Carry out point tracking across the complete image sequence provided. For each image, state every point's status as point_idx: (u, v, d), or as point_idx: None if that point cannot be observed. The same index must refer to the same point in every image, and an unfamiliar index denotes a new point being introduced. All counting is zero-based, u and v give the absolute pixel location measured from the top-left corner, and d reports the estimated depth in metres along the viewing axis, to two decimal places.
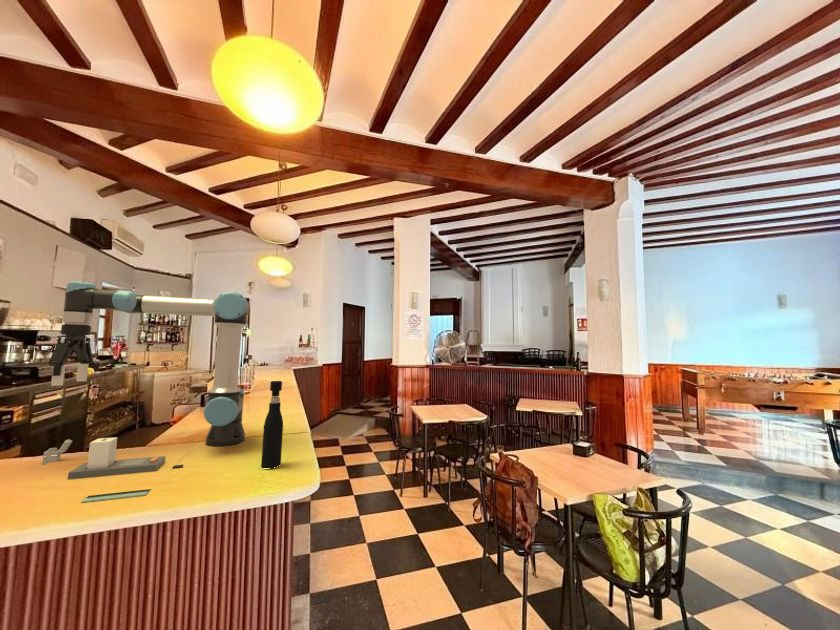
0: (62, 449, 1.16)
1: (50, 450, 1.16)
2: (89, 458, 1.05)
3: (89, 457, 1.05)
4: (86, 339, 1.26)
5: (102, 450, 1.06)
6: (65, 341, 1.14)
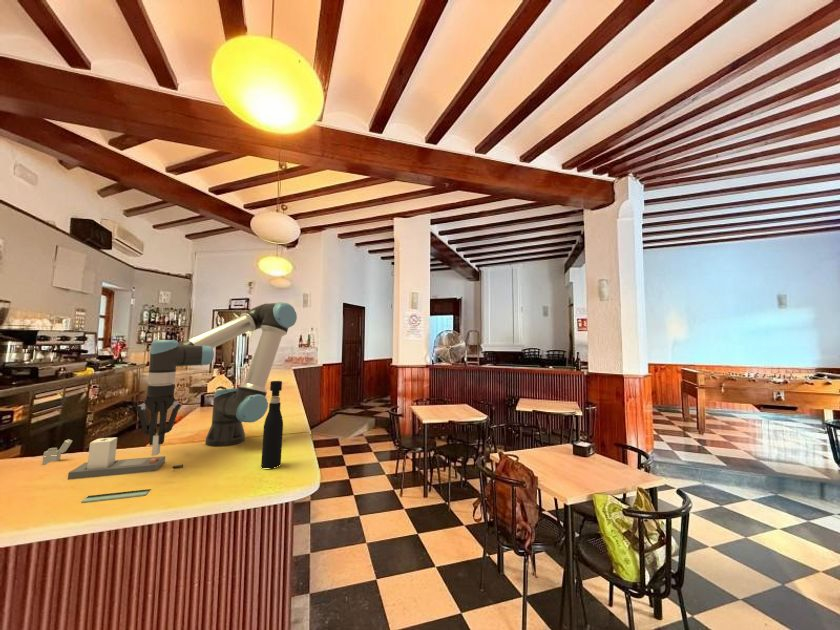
0: (62, 449, 1.16)
1: (50, 450, 1.16)
2: (89, 458, 1.05)
3: (89, 457, 1.05)
4: (177, 404, 1.16)
5: (102, 450, 1.06)
6: None
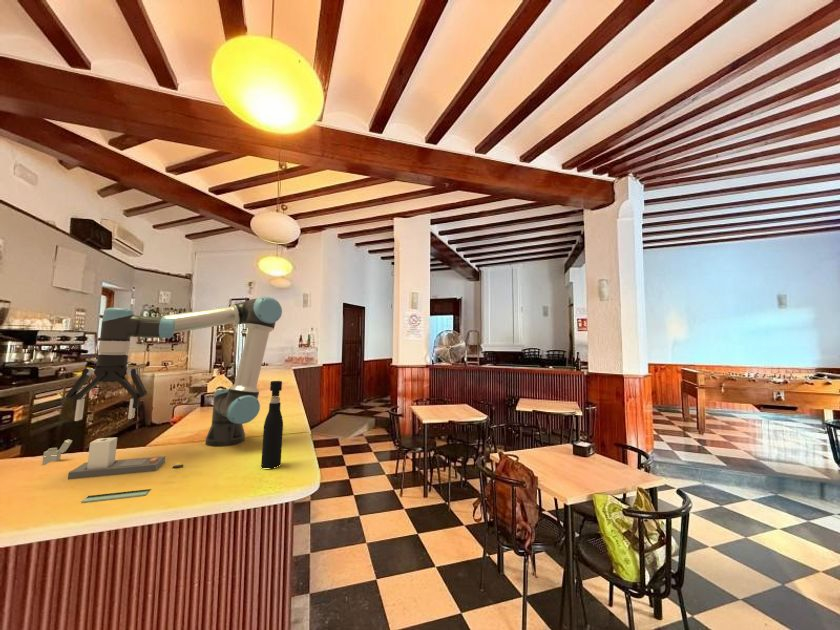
0: (62, 449, 1.16)
1: (50, 450, 1.16)
2: (89, 458, 1.05)
3: (89, 457, 1.05)
4: None
5: (102, 450, 1.06)
6: None
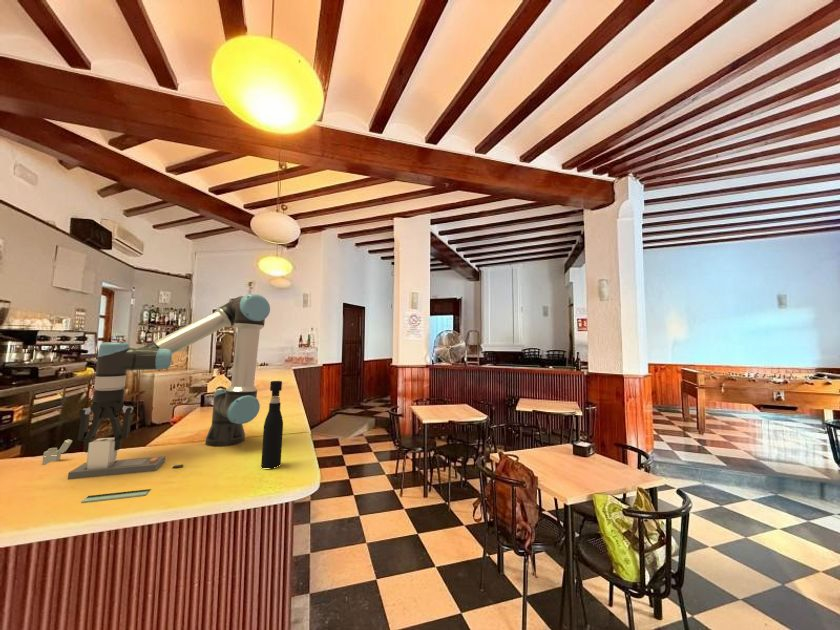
0: (62, 449, 1.16)
1: (50, 450, 1.16)
2: (89, 458, 1.05)
3: (89, 457, 1.05)
4: (127, 408, 1.11)
5: (102, 450, 1.06)
6: None
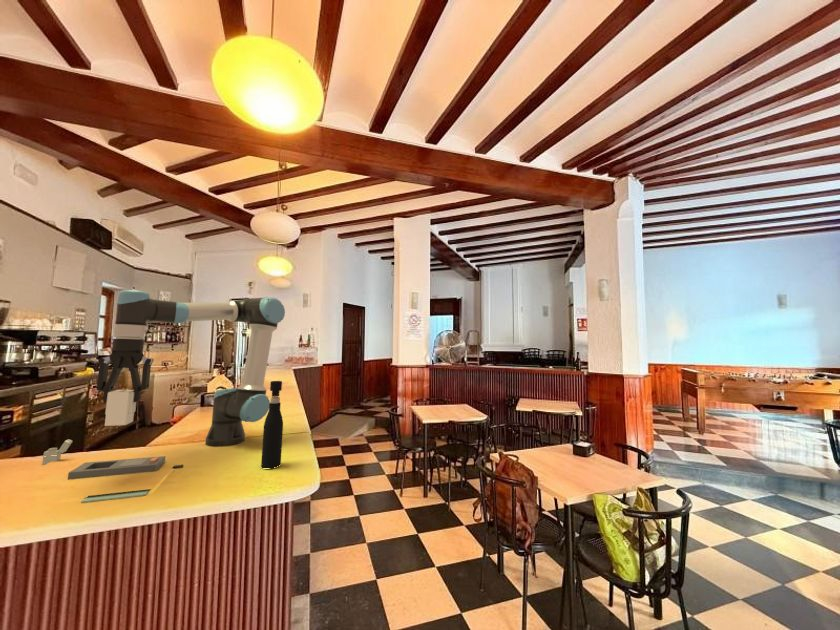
0: (62, 449, 1.16)
1: (50, 450, 1.16)
2: (108, 408, 1.01)
3: (107, 407, 1.01)
4: None
5: (121, 401, 1.02)
6: None
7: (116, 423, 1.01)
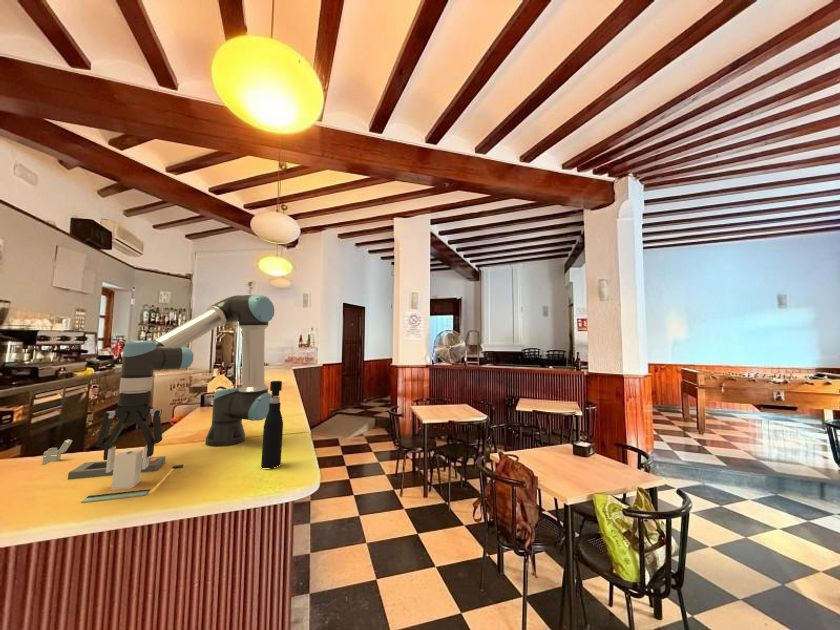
0: (62, 449, 1.16)
1: (50, 450, 1.16)
2: (114, 473, 0.95)
3: (114, 472, 0.95)
4: (155, 411, 1.01)
5: (128, 464, 0.97)
6: None
7: (123, 488, 0.96)
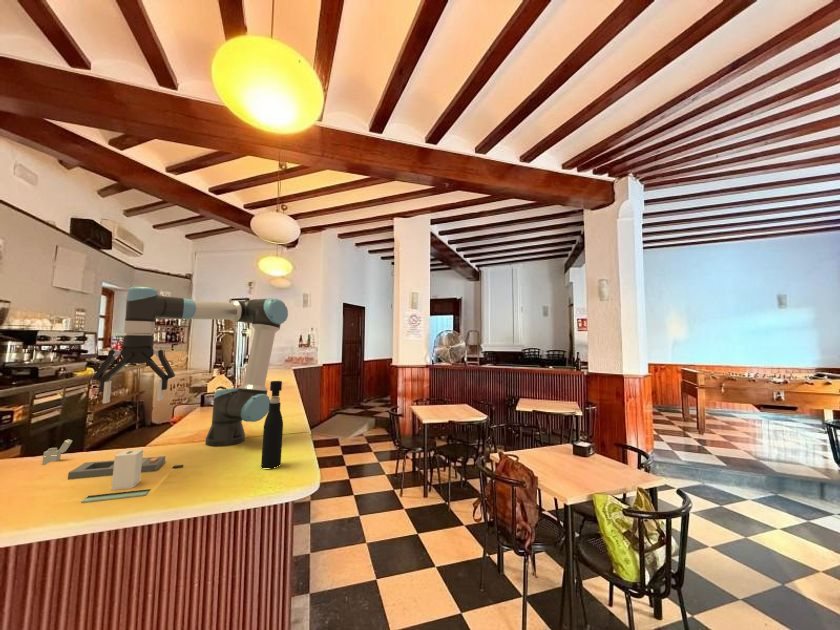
0: (62, 449, 1.16)
1: (50, 450, 1.16)
2: (114, 473, 0.95)
3: (114, 472, 0.95)
4: (158, 351, 1.08)
5: (128, 464, 0.97)
6: None
7: (123, 488, 0.96)
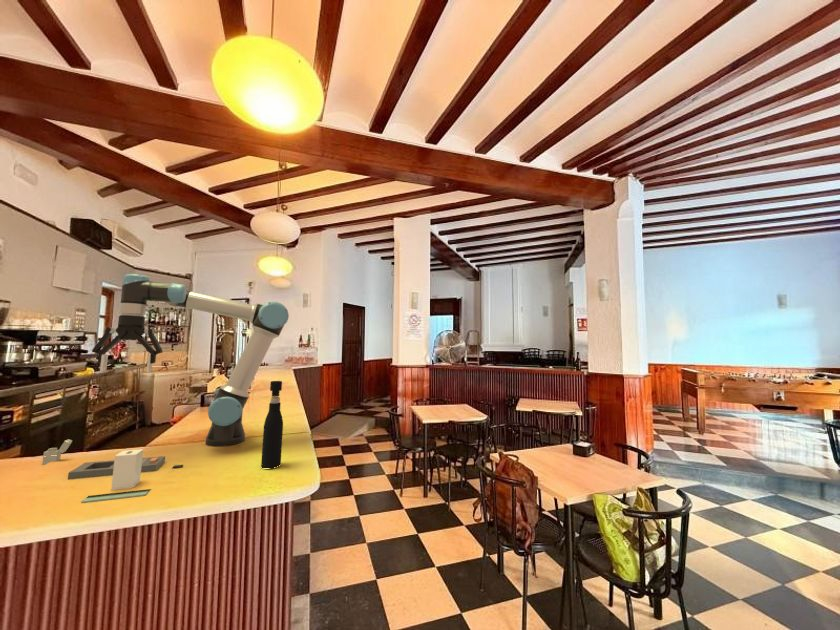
0: (62, 449, 1.16)
1: (50, 450, 1.16)
2: (114, 473, 0.95)
3: (114, 472, 0.95)
4: None
5: (128, 464, 0.97)
6: None
7: (123, 488, 0.96)
